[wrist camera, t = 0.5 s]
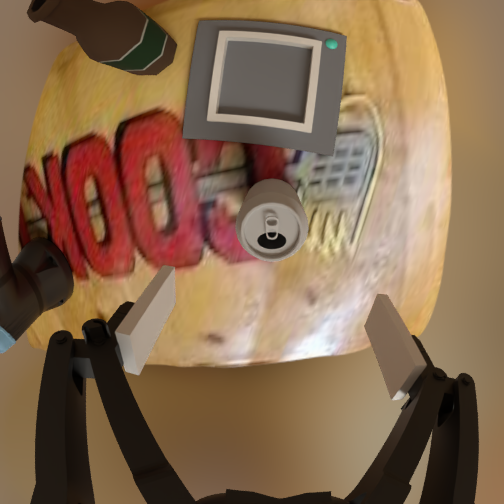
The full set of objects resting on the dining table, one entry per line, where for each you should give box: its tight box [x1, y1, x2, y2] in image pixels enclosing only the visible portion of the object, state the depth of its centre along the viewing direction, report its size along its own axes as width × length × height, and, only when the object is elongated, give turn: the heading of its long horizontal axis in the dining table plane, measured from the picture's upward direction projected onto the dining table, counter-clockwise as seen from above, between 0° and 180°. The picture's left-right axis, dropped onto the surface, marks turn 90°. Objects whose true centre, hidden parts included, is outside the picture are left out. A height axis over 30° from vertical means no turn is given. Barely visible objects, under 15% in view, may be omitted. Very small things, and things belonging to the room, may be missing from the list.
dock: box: [183, 20, 347, 156], centre depth 29 cm, size 20×18×2 cm
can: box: [235, 178, 308, 262], centre depth 32 cm, size 8×8×12 cm
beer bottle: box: [27, 0, 177, 75], centre depth 18 cm, size 8×8×24 cm
